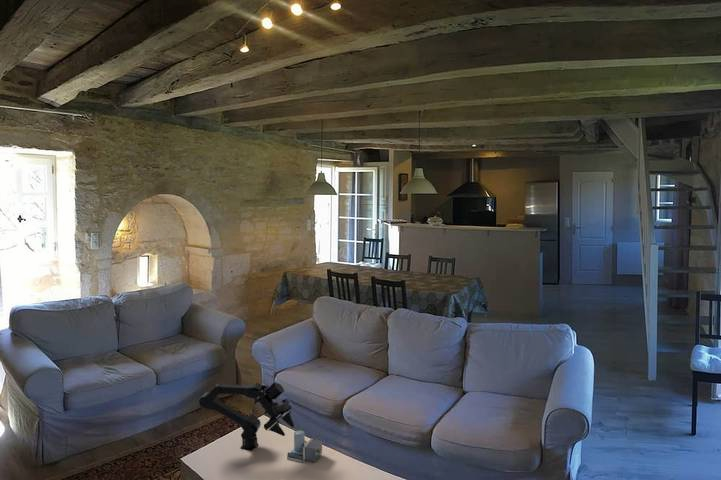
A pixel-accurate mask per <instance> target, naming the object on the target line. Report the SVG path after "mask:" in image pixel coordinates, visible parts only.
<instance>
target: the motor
mask: <svg viewBox="0 0 721 480" xmlns="http://www.w3.org/2000/svg"><path fill="white" fill-rule="evenodd" d="M322 453H323V440H319V439H314V438H313V437H311V438H309V440H308V441H307V443H306V444H305V446H304V447H303V455H299V454H294V453H291V451H288V452H287V455H286V460H290V461H293V462H299V463H304V462H309V463H316V462H317V460H318V459H319V458H320V456H321V455H322Z"/></svg>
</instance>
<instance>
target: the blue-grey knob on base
mask: <svg viewBox="0 0 721 480" xmlns="http://www.w3.org/2000/svg"><path fill="white" fill-rule="evenodd" d="M305 433H306V432H305V431H304V430H300V429H299V430H295V431H294V434H293V449H292V450H291V451H290V453H294V454H299V455H303V447H304V446H305V445H306V443H307V442H308V441H307V440H306V439H305V437H306V434H305Z"/></svg>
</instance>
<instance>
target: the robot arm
mask: <svg viewBox="0 0 721 480" xmlns="http://www.w3.org/2000/svg"><path fill="white" fill-rule="evenodd" d="M284 392H285V390H284V387H283V386H282V385H281V383H278V382H276V381H273V382H272V383H271V385H269V386H268V385H263V384H261V383H260V382H252V383H248V384H232V383H231V384H227V383H221V382H219V383H217V384H216V385H215V386H214V387H213V388H212V389H211V390H210V391H207V392H205V393H204V394H203V395H202V396H201V397H200V398H199V400H198V403H199V406H200V407H201V408H202V409H205V410H207V411H215V412H217V413H218V414H219V415H222V416H224V417H226V418H227V419H229V420H231V421H233V422H234V423H236V424H237V425H238V426H240V427H241V429H242V432H241V434H240V437H241V439H242V440H241V442H242V445H241V446H240V449H242V450H246V451H253V450H254V449H256V447H258V446H259V443H258V437H257V433H258V431H259V430H260V428H261V425H262V423H261V421H260V419H259V417H257V416H256V415H254V414H252V413H250V414H249V415H245V414H243V413H242V412H239V411H238V410H236V409H234V408H233V407H231V406H230V405H227V403H224V402H223V401H221V400H220V398H219V396H218V395H219V394H220V395H238V396H244V397H245V398H249V399H252V400H253V399H254V403H253V404H254V405H257V404H259V405H260V406H261V407H262V409H263V410H264V412H263V413H264V414H267V415H268V416H269V420H268V421H266V422H265V423H264V424H263V429H264V430H265V431H271V432H273V433H276V434H278V435H280V436H282V437H285V436H286V433H285V432H284V430H283V429H282V427H281V425H280V420H279V419H280V418H281V419H282V420H283V421H284V422H285V423H286V424H287V425H289V426H290V427H292V428H294V427H295V425H294V424H295V423H294V422H293V419H292V414H291V413H292V408H293V407H292V406H291V405H290V401H289V400H288V398H284V399H282V400H281V402H280V403H279V402H277V401H275V400H277V398H279V397H280V396H281V395H282V394H284ZM274 401H275V402H274Z"/></svg>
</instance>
